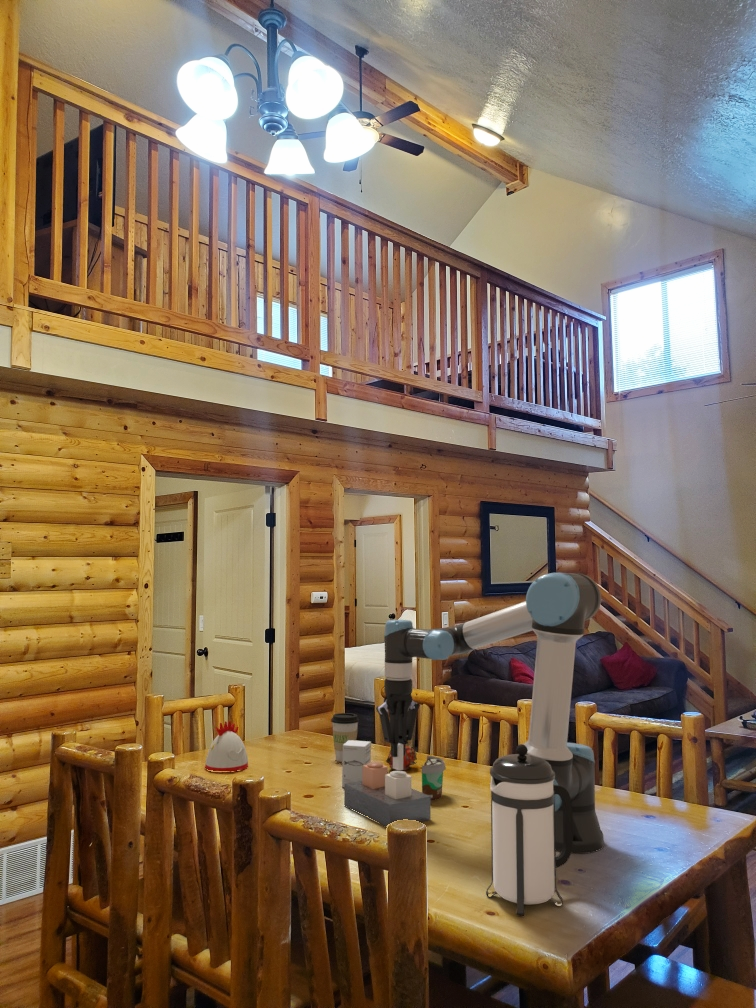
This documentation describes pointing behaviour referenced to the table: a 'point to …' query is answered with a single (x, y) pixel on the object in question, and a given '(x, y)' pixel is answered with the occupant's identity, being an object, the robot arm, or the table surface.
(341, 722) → the coffee cup
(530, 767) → the coffee press
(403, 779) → the dome-topped white cube
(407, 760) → the dragon fruit
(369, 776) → the terracotta plunger
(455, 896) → the table surface
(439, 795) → the food container
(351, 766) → the supplement box
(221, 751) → the kitchen timer
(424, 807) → the block
